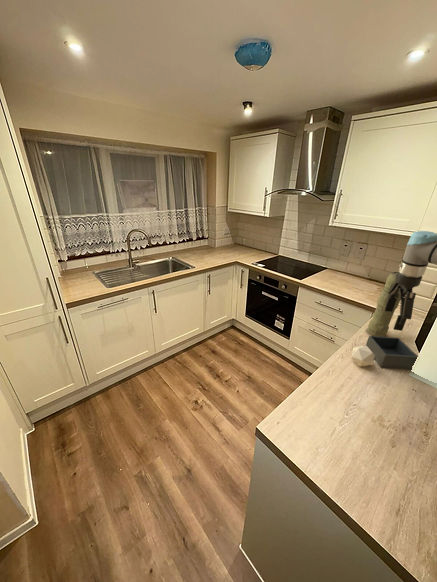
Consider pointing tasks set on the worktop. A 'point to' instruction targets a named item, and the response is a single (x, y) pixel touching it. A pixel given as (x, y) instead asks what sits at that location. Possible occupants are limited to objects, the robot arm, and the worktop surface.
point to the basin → (391, 352)
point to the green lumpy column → (383, 310)
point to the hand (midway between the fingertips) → (392, 319)
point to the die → (363, 356)
